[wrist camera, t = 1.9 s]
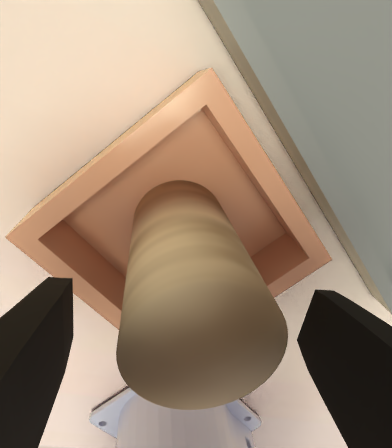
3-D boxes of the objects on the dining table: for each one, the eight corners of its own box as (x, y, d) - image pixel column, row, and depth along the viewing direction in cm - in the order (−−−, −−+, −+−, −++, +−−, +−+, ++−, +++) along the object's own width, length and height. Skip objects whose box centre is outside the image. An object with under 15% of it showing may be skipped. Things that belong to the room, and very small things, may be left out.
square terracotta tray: (302, 231, 17) (332, 259, 14) (163, 325, 18) (166, 368, 15) (198, 71, 13) (211, 67, 10) (32, 207, 14) (4, 237, 12)
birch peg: (239, 228, 16) (315, 352, 8) (171, 277, 16) (188, 430, 9) (187, 160, 14) (227, 244, 7) (113, 218, 15) (77, 351, 7)
